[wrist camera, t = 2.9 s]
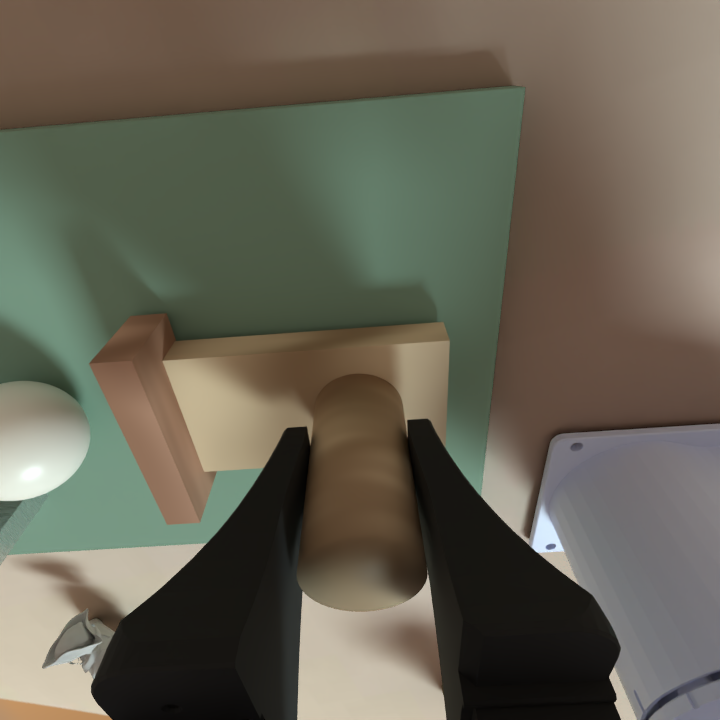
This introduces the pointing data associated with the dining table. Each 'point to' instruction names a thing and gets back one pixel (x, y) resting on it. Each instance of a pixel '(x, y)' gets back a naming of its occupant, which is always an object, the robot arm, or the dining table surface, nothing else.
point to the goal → (16, 520)
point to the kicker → (284, 410)
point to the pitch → (249, 261)
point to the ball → (39, 438)
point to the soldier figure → (81, 643)
